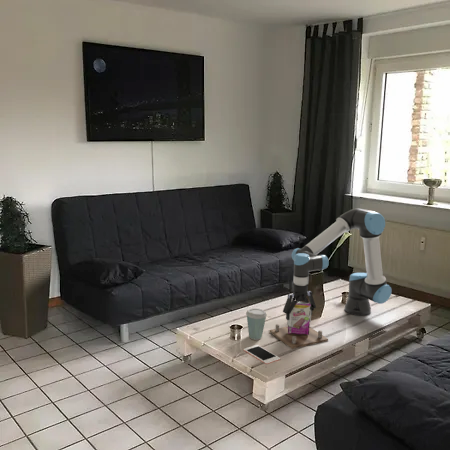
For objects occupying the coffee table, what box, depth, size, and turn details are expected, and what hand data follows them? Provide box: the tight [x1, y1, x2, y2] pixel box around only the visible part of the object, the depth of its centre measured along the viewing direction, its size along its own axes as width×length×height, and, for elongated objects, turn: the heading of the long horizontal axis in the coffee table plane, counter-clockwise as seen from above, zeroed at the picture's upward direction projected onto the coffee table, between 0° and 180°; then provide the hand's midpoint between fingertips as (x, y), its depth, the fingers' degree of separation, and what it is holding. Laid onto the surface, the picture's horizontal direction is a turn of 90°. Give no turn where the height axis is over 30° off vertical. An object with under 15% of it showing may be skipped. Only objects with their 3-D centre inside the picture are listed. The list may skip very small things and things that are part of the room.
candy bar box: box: [287, 301, 311, 335], centre depth 261 cm, size 11×5×16 cm, turn 84°
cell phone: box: [243, 344, 281, 365], centre depth 243 cm, size 9×18×1 cm, turn 35°
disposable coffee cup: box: [245, 308, 268, 341], centre depth 260 cm, size 11×11×15 cm
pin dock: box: [269, 323, 329, 350], centre depth 263 cm, size 22×22×5 cm
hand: (298, 323), depth 262 cm, fingers closed on candy bar box, 12 cm apart
